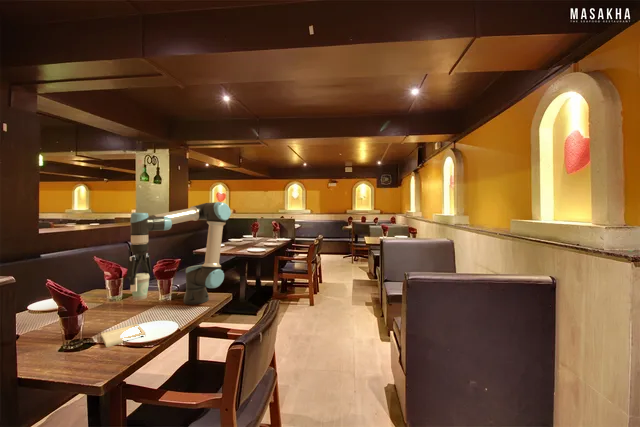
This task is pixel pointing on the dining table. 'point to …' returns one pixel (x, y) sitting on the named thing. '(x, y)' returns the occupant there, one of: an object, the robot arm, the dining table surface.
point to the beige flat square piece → (118, 335)
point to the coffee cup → (141, 286)
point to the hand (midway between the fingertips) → (139, 288)
